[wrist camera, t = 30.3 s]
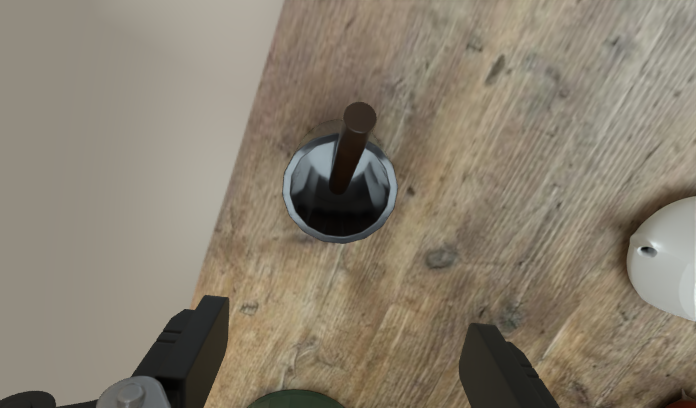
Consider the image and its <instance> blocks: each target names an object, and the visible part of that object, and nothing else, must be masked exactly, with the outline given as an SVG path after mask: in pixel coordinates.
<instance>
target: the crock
mask: <svg viewBox="0 0 696 408" xmlns="http://www.w3.org/2000/svg"><path fill="white" fill-rule="evenodd" d="M341 124H342V120H340V119H339V120H331V121H327V122H324V123H321V124H319V125H317V126H316V127H314V128H313V129H312V130H311V131H309V132H308V133H307V134H306V135H305V136H304V138H303V139H302V141H301V143H300V144H299V146H298V148H297V150H296V151H295V153H294V155H293V157H292V159H291V161H290V162H289V164H288V166H287V168H286V170H285V172H284V177H283V190H282V196H283V199H284V202H285V205H286V208H287V211H288V214H289V216H290V217H291V218H292V219H293V220H294V222H295V223H296V224H297V225H298V226H299V227H300V228H301V230H302V231H304V232H305V233H307V234H309V235H311V236H313V237H315V238H317V239H319V240H321V241H323V242H332V243H340V244H346V243H350V242H354V241H357V240H361V239H365V238H367V237H368V236H369V235H371V234H372V233H374V232H375V231H377V230H378V229H379V228H381V227H382V226H383V225H384V223H385V222H386V220H387V219H388V217H389V216H390V214H391V213H392V211H393V209H394V207H395V202H396V196H397V191H398V184H397V180H396V175H395V171H394V167H393V165H392V163H391V161H390V159H389V158H388V156H387V154H386V153H385V151H384V149H383V148H382V146H381V144H380V143H379V142H378V140H377V139H376V137H375V136H374V135H373V134H371V136H370V138H369V140H368V143H367V145H366V147H365V149H364V152H363V154H362V156H361V159H360V161H359V163H358V165H357V168H356V170H355V172H354V175H353V177H352V179H351V181H350V184H349V186H348V188H347V190H346V192H345V193H343V194H341V195H336V194H333V193H332V192H331V191H330V189H329V180H330V176H331V171H332V166H333V162H334V157H335V152H336V148H337V143H338V138H339V134H340V129H341Z"/></svg>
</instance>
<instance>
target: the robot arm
mask: <svg viewBox="0 0 696 408" xmlns="http://www.w3.org/2000/svg"><path fill="white" fill-rule="evenodd" d="M228 326H229V298H228V297H220V296H210V295H205V296H204V297H203V298H202V300H201V301H200V303H199V305H198V306H197V308H196V309H195V310H189V309H184V310H183V311H181V312H180V313H178V314H177V315H176V316H174V317H172V318H171V320H170V321H169V322H168V324H167V325H166V327H165V328H164V330H163V332H162V333H161V334H160V335H159V337H158V338H157V341H156V342H155V343H154V344H153V345H152V347H151V348H150V350H149V351H148V353H147V354H146V356H145V357H144V358H143V360H142V362H141V363H140V364H139V366H138V367H137V369H136V370H135V371H134V373H133V374H132V376H131V377H130V378H127V379H123V380H121V381H119V382H117V383H115V384H113V385H112V386H110V387H109V388H108V389H106V390H105V391H104V392H103V394H102V395H101V396H100V397H99V399H97V400H94V401H90V402H84V403H78V404H73V405H66V406H60V407H56V403H55V399H54V397H53V396H52V395H51V394H49V393H47V392H43V391H28V392H23V393H18V394H15V395H12V396H9V397H7V398H5V399H2V400H0V408H203V407H204V405H205V403H206V400H207V398H208V395H209V393H210V390H211V388H212V385H213V383H214V381H215V378H216V376H217V373H218V371H219V368H220V366H221V363H222V361H223V358H224V356H225V352H226V348H227V342H228ZM459 376H460V380H461V383H462V385H463V388H464V390H465V393H466V395H467V398H468V400H469V403H470V405H471V408H560V407H559V406H558V404H557V403H556V401H555V400H554V398H553V397H552V395H551V394H550V392H549V391H548V389H547V388H546V386H545V385H544V383H543V382H542V380H541V379H539V376H538V374H537V373H536V371H535V369H534V368H532V365H531V363H530V362H529V360H528V359H527V357H526V356H525V354H524V353H523V352H522V351H520V350H519V349H518V348H517V347H516V346H515V345H514V344H512V343H511V342H506V341H505V339H504V338H503V336H502V335H501V333H500V331H499V330H498V328H497V327H496V326H495V325H490V324H480V323H471V324H470V325H469V327H468V331H467V334H466V338H465V342H464V345H463V349H462V353H461V356H460V360H459Z"/></svg>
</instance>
